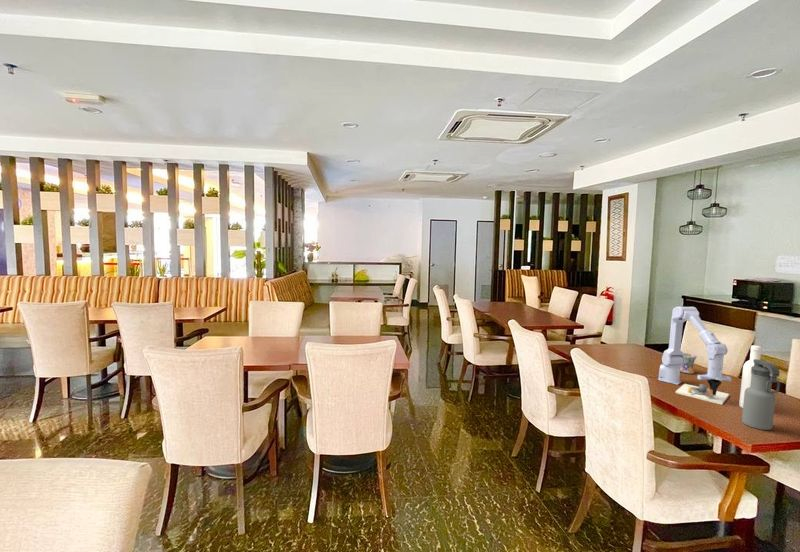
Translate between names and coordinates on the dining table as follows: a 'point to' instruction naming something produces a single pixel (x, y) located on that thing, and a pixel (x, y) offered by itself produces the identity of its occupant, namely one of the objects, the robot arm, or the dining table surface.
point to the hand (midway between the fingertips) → (712, 394)
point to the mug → (688, 364)
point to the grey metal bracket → (707, 393)
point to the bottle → (748, 371)
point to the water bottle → (760, 396)
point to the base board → (688, 391)
